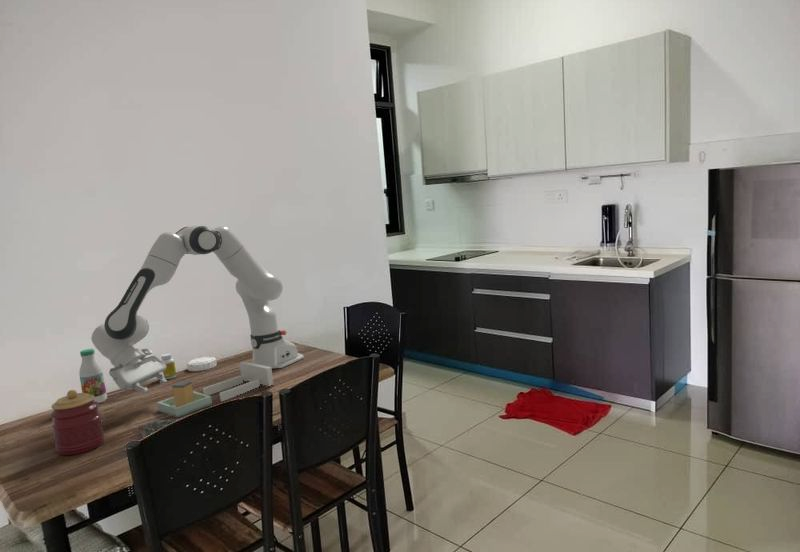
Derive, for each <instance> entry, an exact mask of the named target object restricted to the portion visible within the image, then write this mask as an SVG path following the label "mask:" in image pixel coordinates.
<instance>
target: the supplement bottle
mask: <svg viewBox="0 0 800 552" xmlns="http://www.w3.org/2000/svg"><path fill="white" fill-rule="evenodd" d="M172 357H173V356H172V354H171V353H164V354H161V355H160V359H161V360H162V361H163V362H164V363H165V364H166V370H165V371H164V373H163V374H164V378H165V379H166V380H170V379H173V378H176V376H177V371H176V364H175V359H174V358H172Z"/></svg>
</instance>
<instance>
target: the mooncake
mask: <svg viewBox="0 0 800 552" xmlns="http://www.w3.org/2000/svg"><path fill="white" fill-rule="evenodd" d="M186 366H187V370H188V371H189V372H201V371H206V370H209V369H212V368H215V367H216V366H217V359H216V357H214V356H203V357H197V358H193V359H191V360H189V361H188V362H187V363H186Z"/></svg>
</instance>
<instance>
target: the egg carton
mask: <svg viewBox="0 0 800 552" xmlns="http://www.w3.org/2000/svg"><path fill="white" fill-rule="evenodd" d="M178 419H179V420H180V417H177V418H174V419H169V418H168V419H161V420H159V419H153V420H151V421H150V422H148V423H147V424H146V425H144V426H138V427H137V428H138V429H139V430H140V436H141V438H143V439H144V437H146V436H148V435H150V434H151V433H153V432H155V431H157V430H158V429H160V428H162V427H164V426H166V425H168V424H170V423H172V422H174V421H176V420H178Z"/></svg>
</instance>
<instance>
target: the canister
mask: <svg viewBox="0 0 800 552" xmlns="http://www.w3.org/2000/svg"><path fill="white" fill-rule="evenodd" d="M94 398H95V396H94V395H90V394H88V393H82V392H77V390H75V389H71V390H68V391H67V393H66V396H62V397H60V398H58V399H57V400H56V401H55V402H54V403H53V404H51V407H50V408H51V409H52V411H51V412H50V413H49V417H50V418H51V419H52V423H51V428H52V431H53V438H54V441H55V445H54V446H55V450H56V452H57V454H58V455H61V456H72V455H73V456H74V455H78V454H82V453H86V452H88V451H91V450H93V449H96V448H98V447H100V446H101V445H103V444H104V442H105V436H106V435H105V431H104V427H103V423H102V417H101V416H102V413H101V412H100V411H99V405H100V403H99V402H97V401H94Z"/></svg>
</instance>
